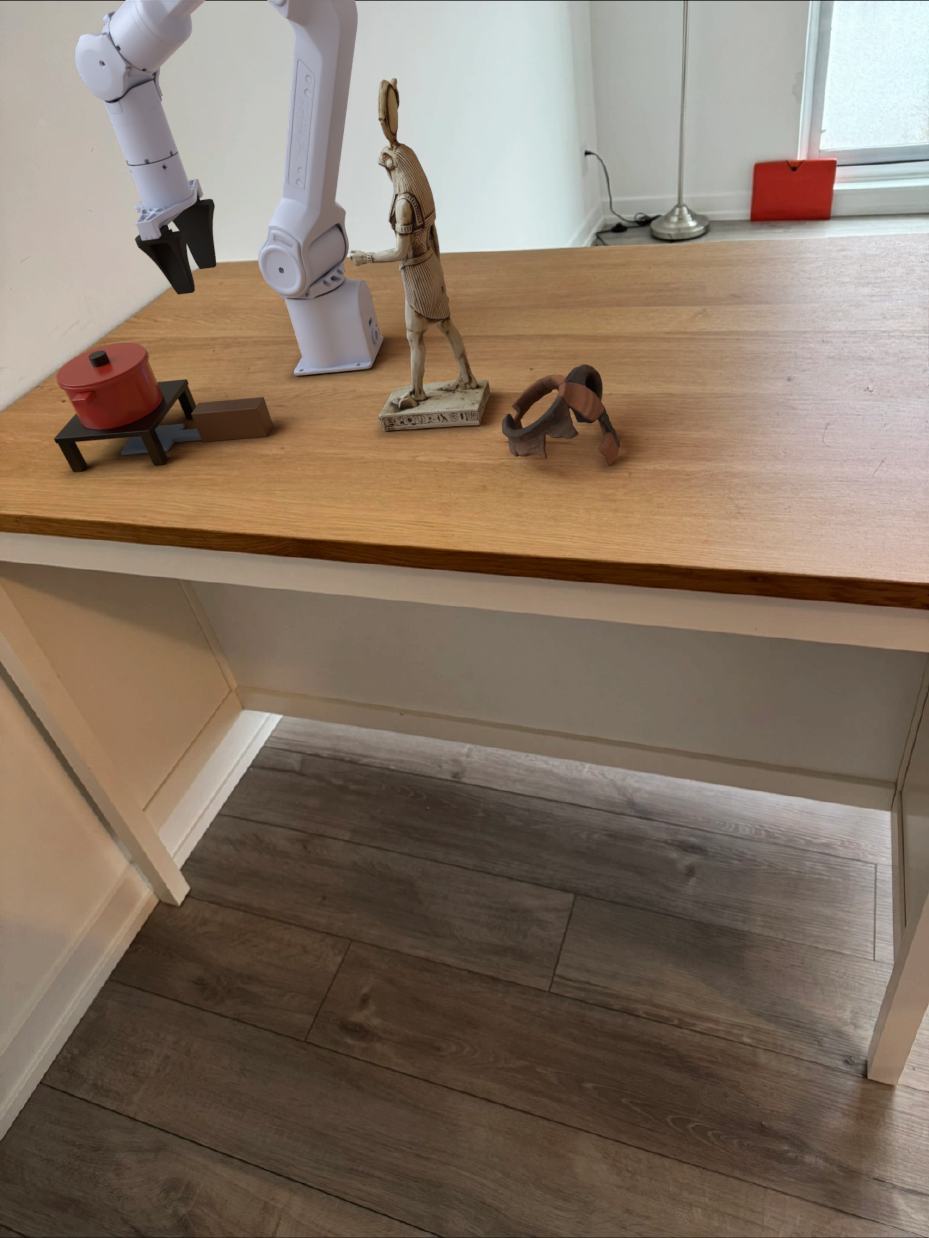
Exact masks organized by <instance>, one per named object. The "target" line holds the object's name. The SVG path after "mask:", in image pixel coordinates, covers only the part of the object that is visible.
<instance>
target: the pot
mask: <svg viewBox="0 0 929 1238" xmlns="http://www.w3.org/2000/svg"><path fill="white" fill-rule="evenodd" d="M149 360H150V354H149V352H148V350H147V349H146V347H144V345H142V344H140V343H136V342H117V343H112V344H108V345H107V344H106V345H103V346H99V347H96V348H93V349H90V350H88V351H84V352H83V353H81V354H79V355H76V356H75V357H73V358H71V359H70V360H69V361H67V362H66V363H64V364H63V365H62V366H61V367H60V368H59V369H58V371H57V372H56V375H55V379H56V384H57V386H58V387H59V389H61V390H63V391H64V392H65V394H66V397H67V398H68V401H69V402H70V404H71V407H72V408H73V410H74V412H75V414H74V415H73V416H72V417H71V418H70V419H69V420H68V422H67V423H66V424H65V425H64V426H63V428H61V429H60V431H59V432H58V433H57V434H56V435H55V437H53V441H54V442H55V444H56V445H57V446H58V447H59V449H60V450H61V453H62V455H63V456H64V458H65V460H66V462H67V463H68V465H69V467H70V469H71V471H72V473H78V472H79V473H80V472H84V470H85V469H86V468H87V467H88V463H87V462H86V460H85V458H84V456H83V454H82V452H81V450H80V448H79V447H78V445H77V443H79V442H90V441H91V442H92V441H102V440H103V441H104V440H113V439H127V438H132V437H139V436H141V438H142V441H143V443H144V445H145V447H146V449H147V451H148V453H147V454H148V456H149V458H150V460H151V462H152V465H153V466H164V465H165V464H166V463H167V461H168V460H169V457H168V455H167V452H165V451H164V449H163V447H162V444H161V442H160V440H159V438H158V435H157V433H156V431H155V429H156V428H157V427H158V426H160V424H161V423H162V421H163V420H164V419H165V417H166V416H167V414H168V413H169V412H170V410H171V409H172V407H173V406H174V405H175V404H176V402H177V401H178V402H179V405H180V407H181V410H182V412H183V414H184V417H185V419H186V420H190V419H192V420H193V418H192V415H191V413H192V412H193V411H194V409H195V408H196V406H197V404H196V401H195V399H194V398H193V393H192V392H191V389H190V387H189V381H188V378H185V379H175V380H164V381H158V380H157V378H156V375H155V373H154V371H153V368H152V367H151V366H152V365H151V363H150V361H149Z"/></svg>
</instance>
